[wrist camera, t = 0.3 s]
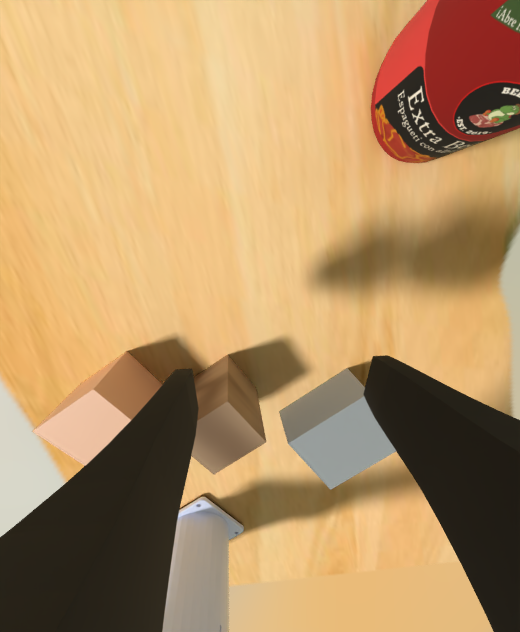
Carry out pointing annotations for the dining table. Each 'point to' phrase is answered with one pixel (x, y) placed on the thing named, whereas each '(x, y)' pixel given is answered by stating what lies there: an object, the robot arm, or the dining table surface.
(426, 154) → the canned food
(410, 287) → the dining table surface
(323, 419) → the grey base block
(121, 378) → the terracotta cube
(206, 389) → the walnut block
